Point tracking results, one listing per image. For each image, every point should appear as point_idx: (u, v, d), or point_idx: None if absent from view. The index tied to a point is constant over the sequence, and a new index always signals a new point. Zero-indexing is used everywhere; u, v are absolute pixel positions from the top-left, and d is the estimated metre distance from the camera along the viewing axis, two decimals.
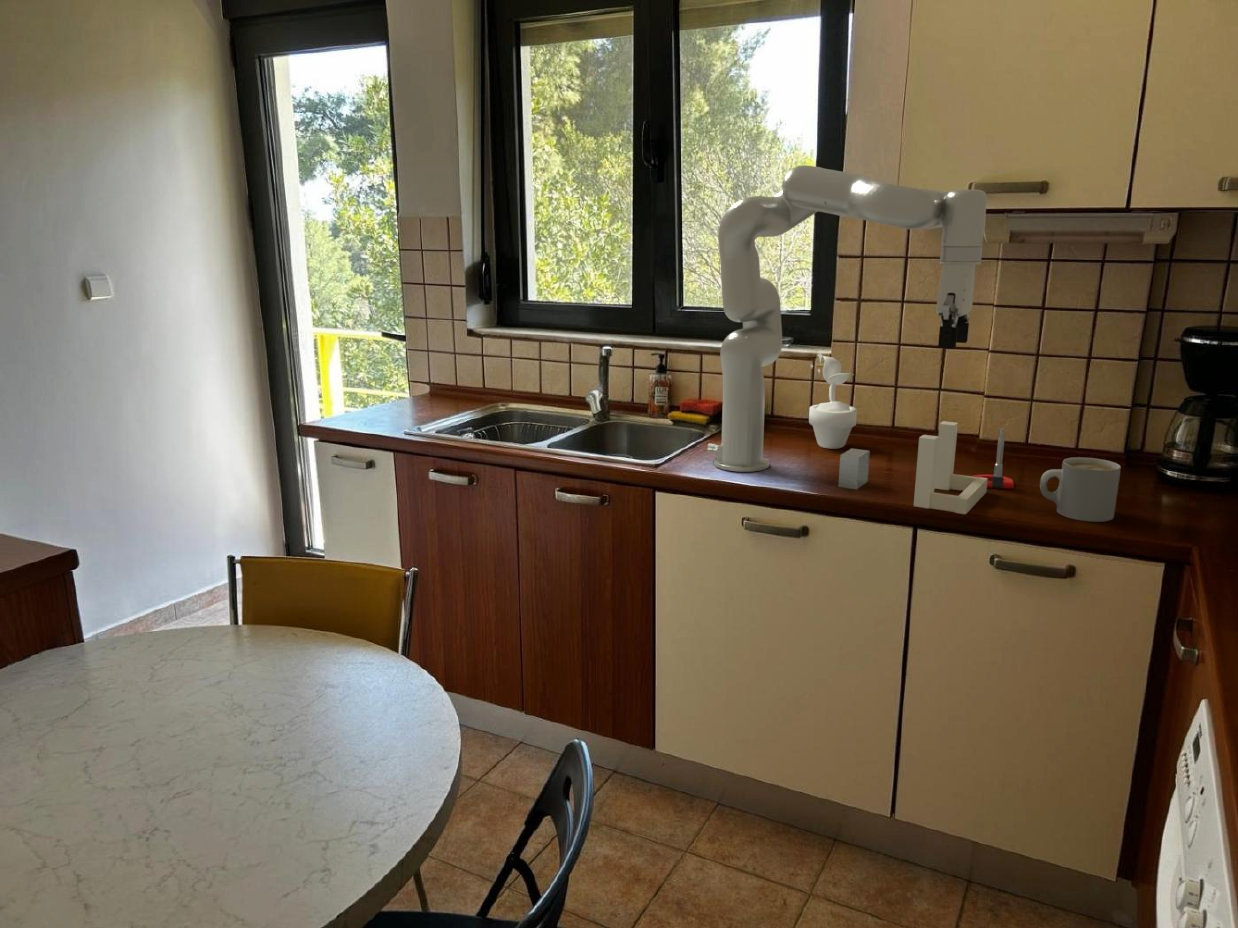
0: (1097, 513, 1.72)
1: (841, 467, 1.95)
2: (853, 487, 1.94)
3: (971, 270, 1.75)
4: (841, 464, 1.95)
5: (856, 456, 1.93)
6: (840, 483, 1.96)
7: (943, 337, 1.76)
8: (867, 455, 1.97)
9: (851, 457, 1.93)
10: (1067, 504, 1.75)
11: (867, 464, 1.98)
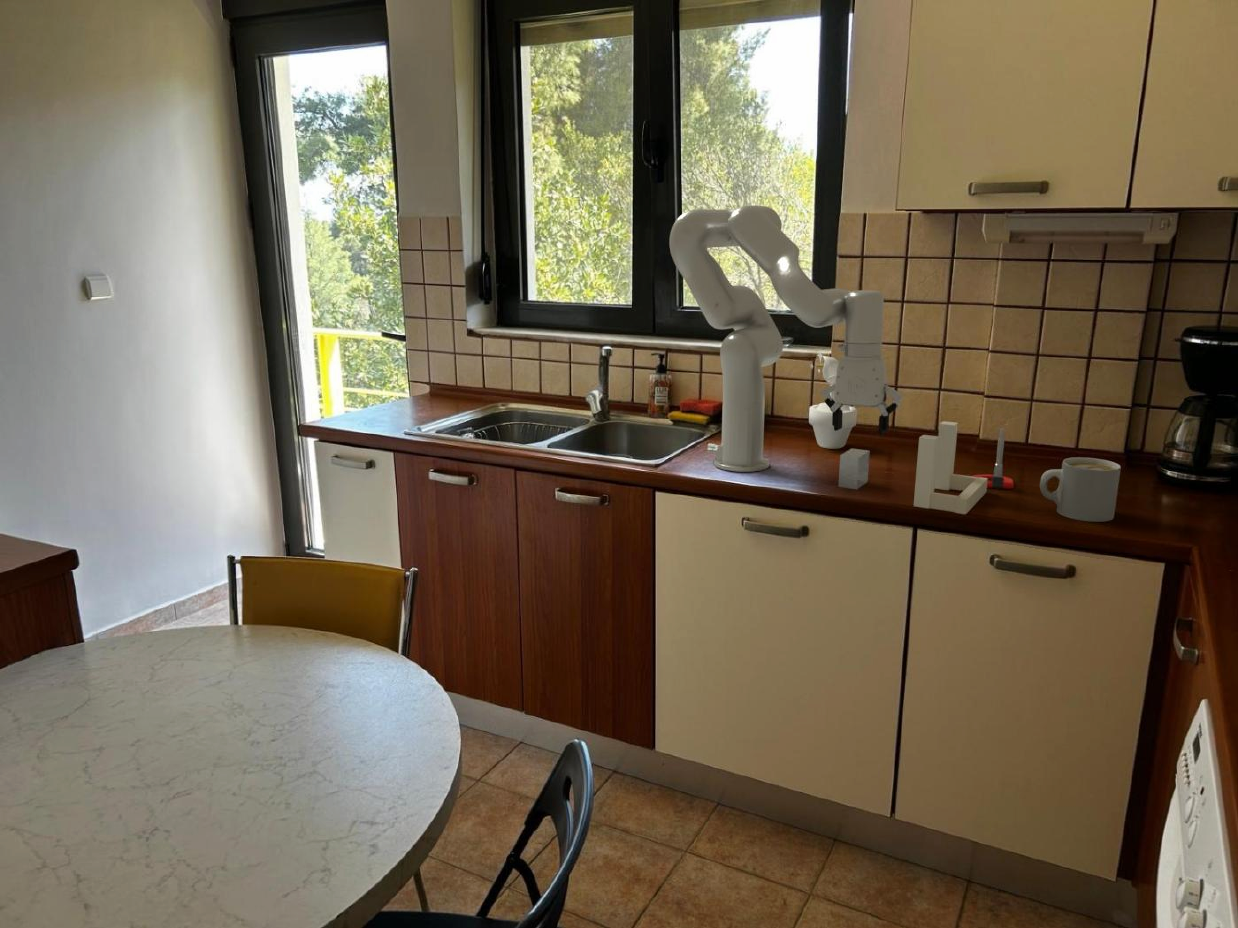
0: (1097, 513, 1.72)
1: (841, 467, 1.95)
2: (853, 487, 1.94)
3: None
4: (841, 464, 1.95)
5: (856, 456, 1.93)
6: (840, 483, 1.96)
7: (886, 424, 1.90)
8: (867, 455, 1.97)
9: (851, 457, 1.93)
10: (1067, 504, 1.75)
11: (867, 464, 1.98)
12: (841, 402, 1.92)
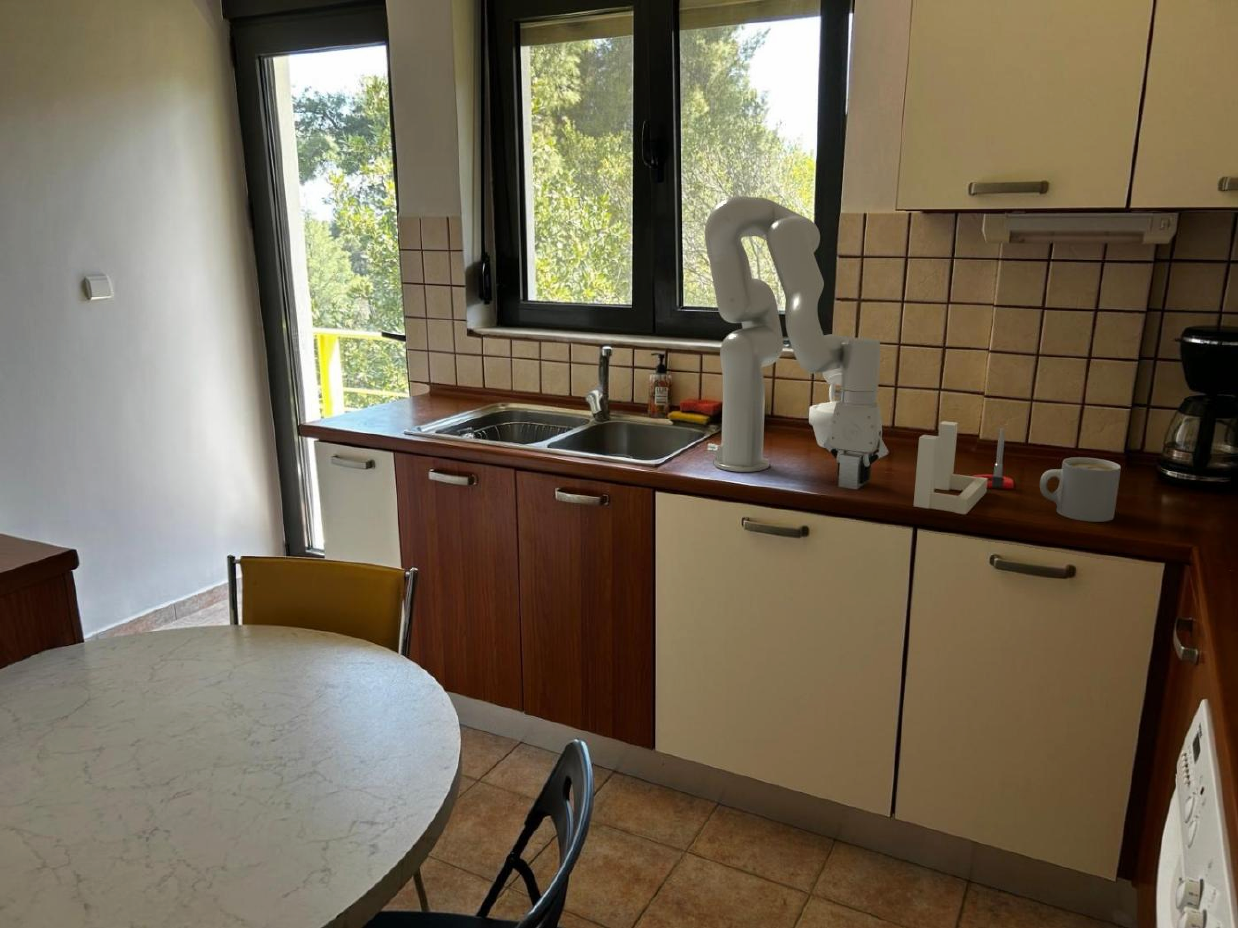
0: (1097, 513, 1.72)
1: (841, 467, 1.95)
2: (853, 487, 1.94)
3: None
4: (841, 464, 1.95)
5: (856, 456, 1.93)
6: (840, 483, 1.96)
7: (868, 474, 1.95)
8: None
9: (851, 457, 1.93)
10: (1067, 504, 1.75)
11: None
12: (836, 447, 1.95)
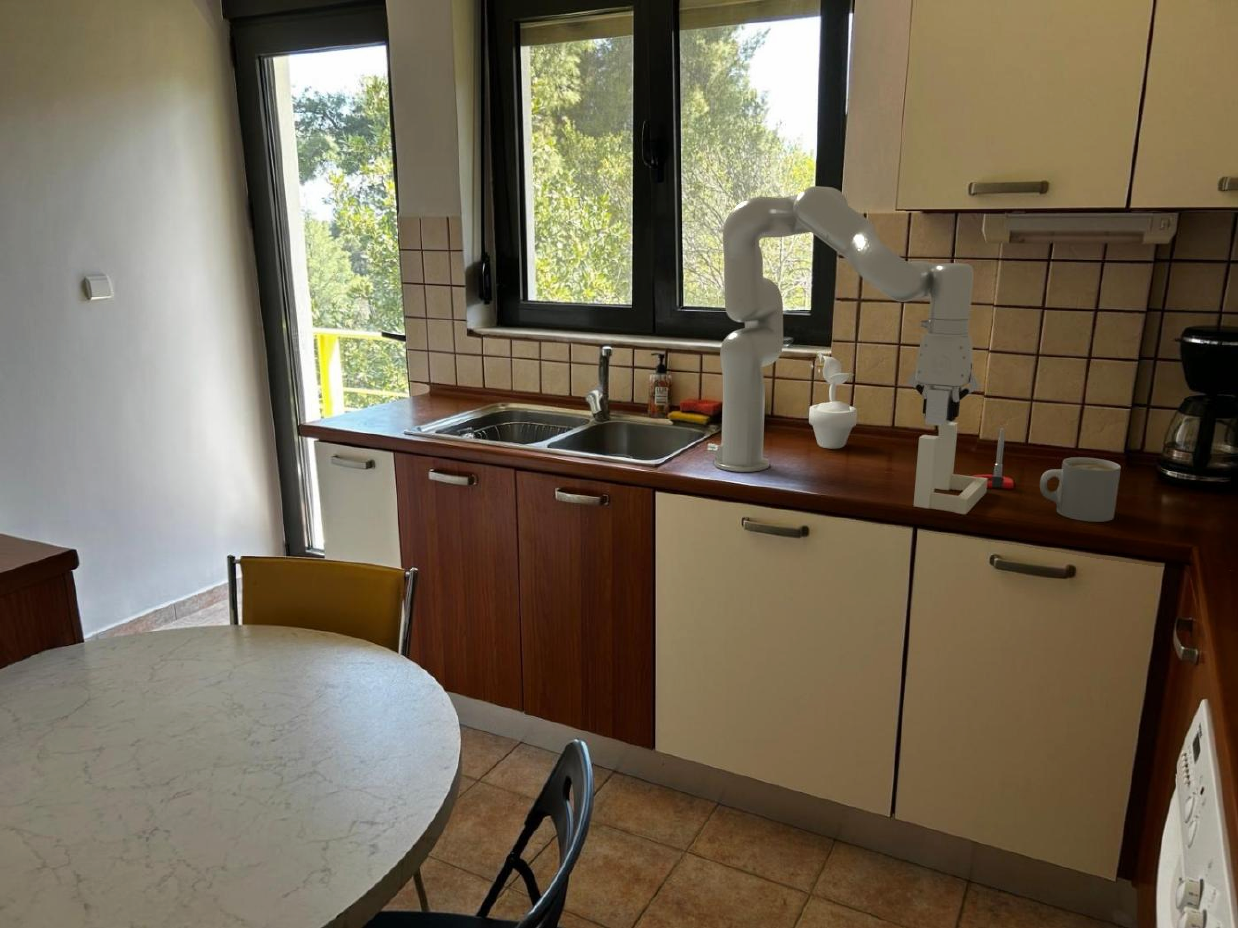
0: (1097, 513, 1.72)
1: (928, 402, 1.82)
2: (941, 424, 1.81)
3: None
4: (928, 399, 1.82)
5: (945, 390, 1.80)
6: (927, 420, 1.83)
7: (957, 411, 1.82)
8: None
9: (940, 391, 1.80)
10: (1067, 504, 1.75)
11: None
12: (923, 381, 1.82)
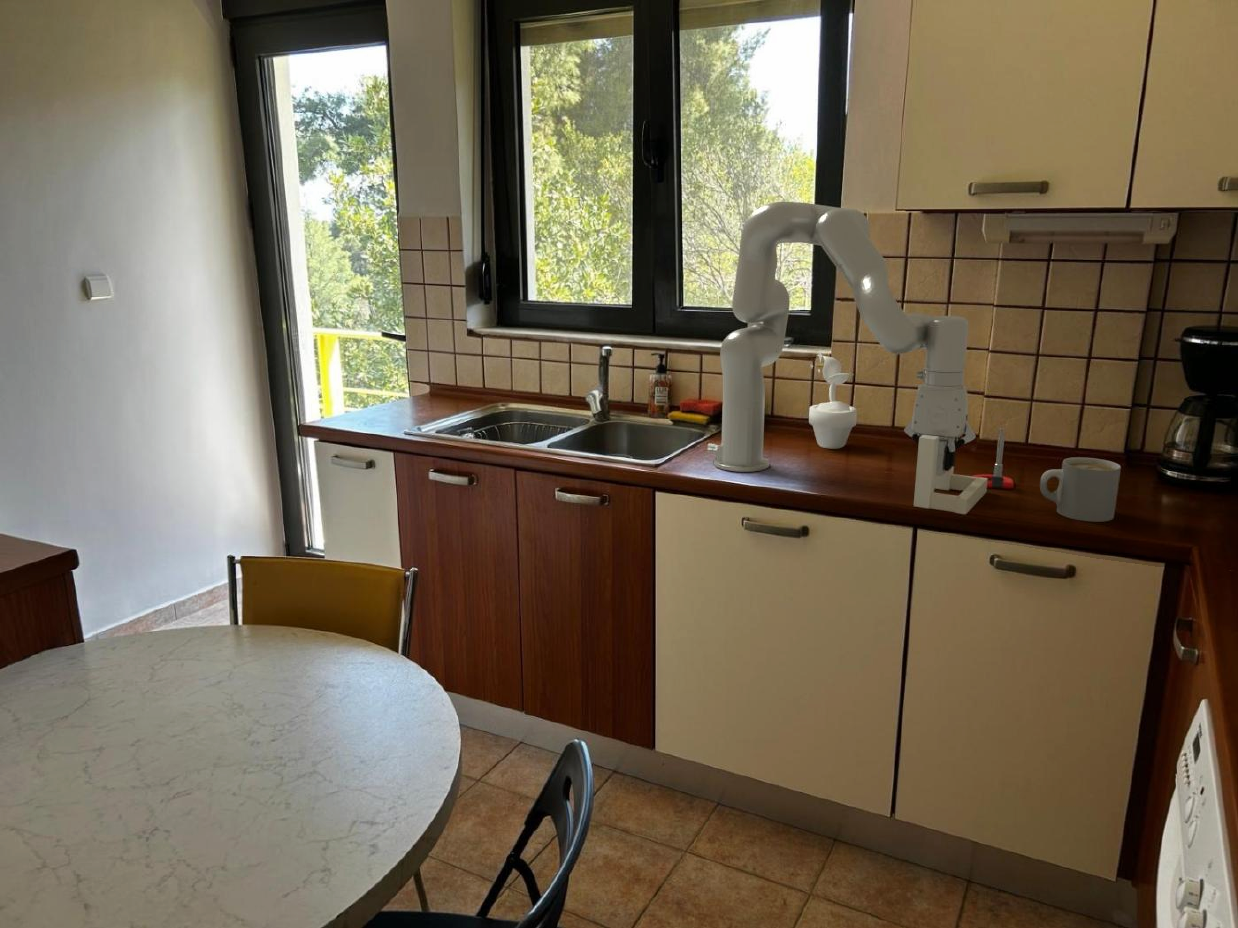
0: (1097, 513, 1.72)
1: None
2: (938, 473, 1.84)
3: None
4: None
5: (941, 440, 1.83)
6: None
7: (953, 460, 1.84)
8: None
9: None
10: (1067, 504, 1.75)
11: None
12: (919, 431, 1.85)
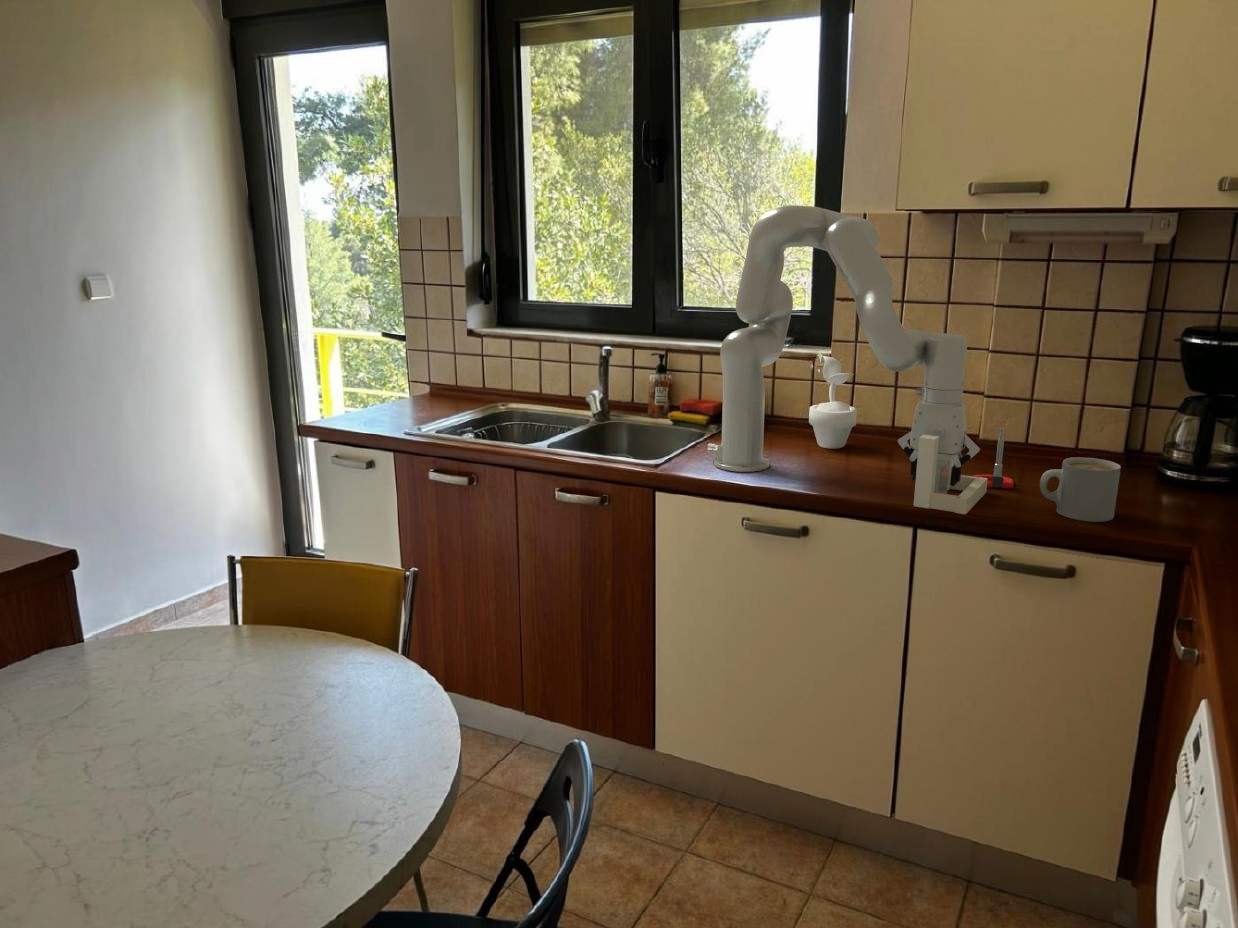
0: (1097, 513, 1.72)
1: None
2: None
3: None
4: None
5: (937, 467, 1.84)
6: None
7: (959, 475, 1.85)
8: (947, 466, 1.88)
9: None
10: (1067, 504, 1.75)
11: (947, 475, 1.89)
12: (917, 448, 1.86)
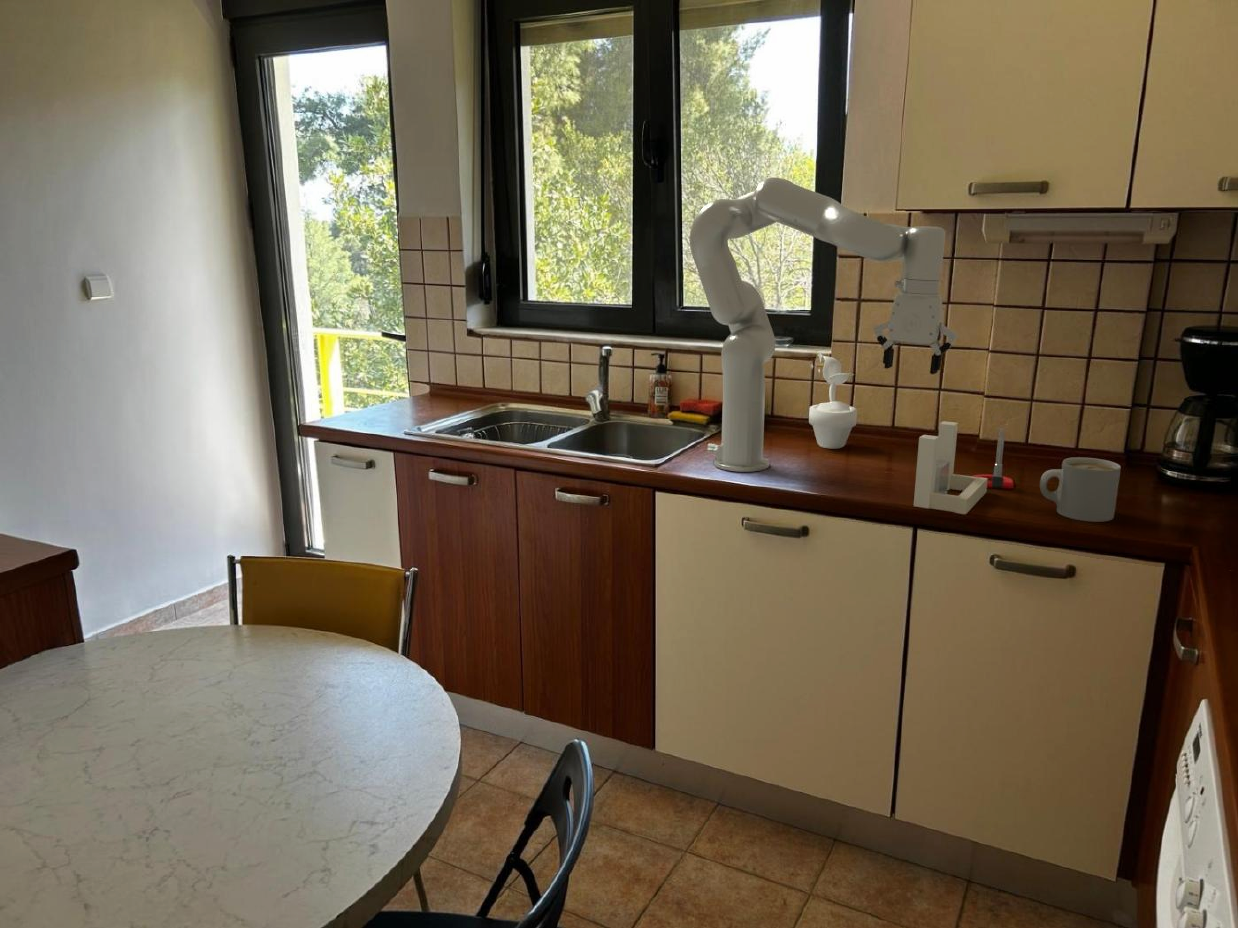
0: (1097, 513, 1.72)
1: None
2: None
3: None
4: None
5: (938, 467, 1.84)
6: None
7: (939, 364, 1.89)
8: (947, 466, 1.88)
9: None
10: (1067, 504, 1.75)
11: (947, 475, 1.89)
12: (894, 339, 1.91)
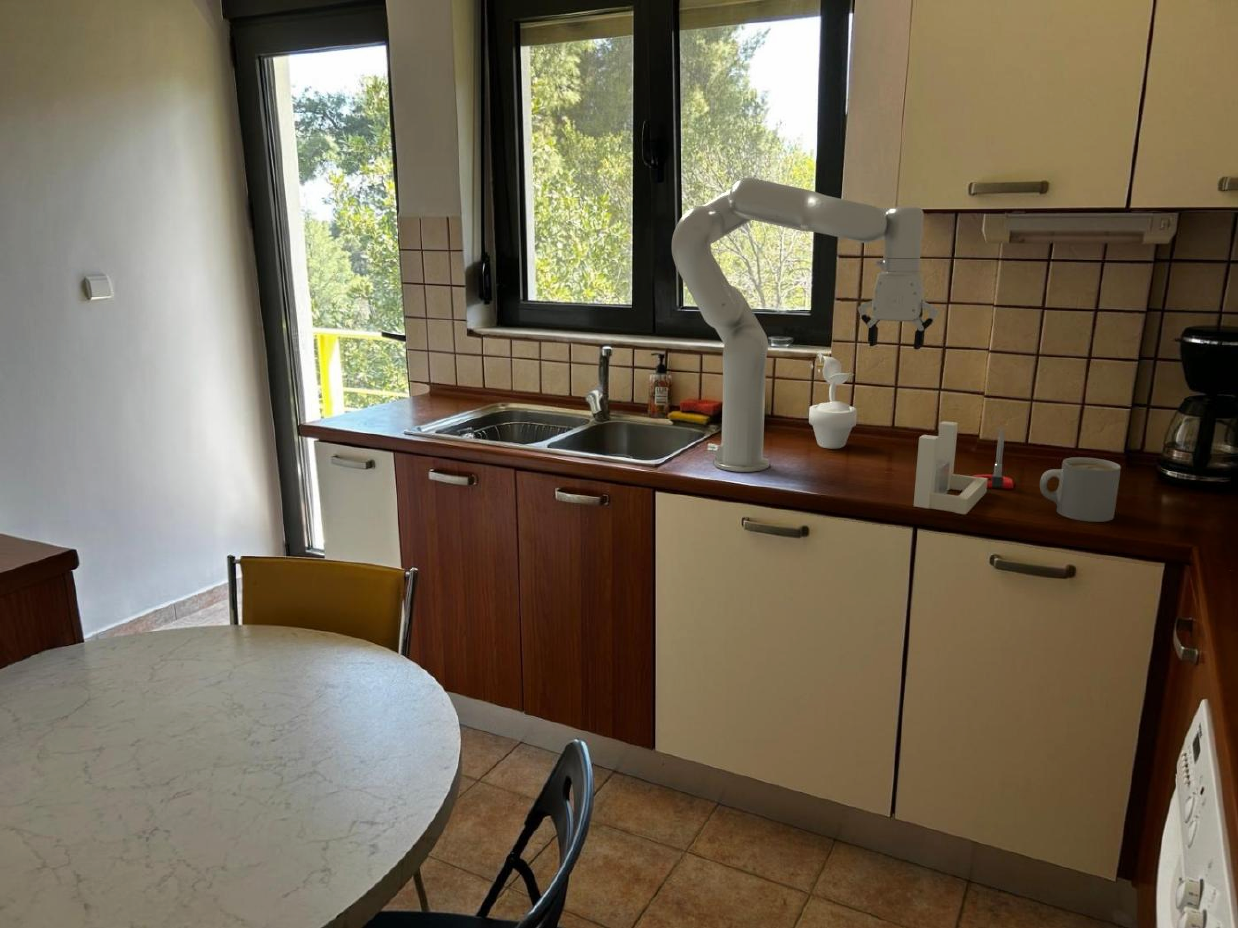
0: (1097, 513, 1.72)
1: None
2: None
3: None
4: None
5: (938, 467, 1.84)
6: None
7: (922, 339, 1.95)
8: (948, 466, 1.88)
9: None
10: (1067, 504, 1.75)
11: (947, 475, 1.89)
12: (878, 317, 1.97)
